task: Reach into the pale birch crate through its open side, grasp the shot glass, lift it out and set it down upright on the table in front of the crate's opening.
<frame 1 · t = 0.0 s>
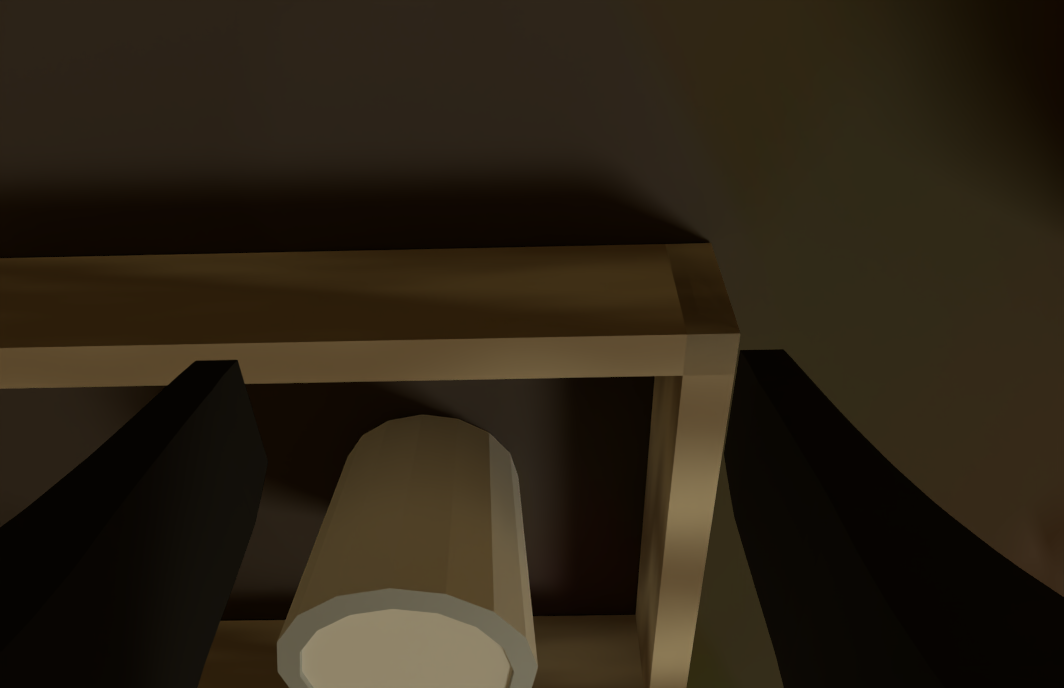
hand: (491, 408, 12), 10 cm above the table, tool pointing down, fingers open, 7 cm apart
shot glass: (432, 474, 28), resting in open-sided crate
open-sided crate: (340, 481, 28), on the table
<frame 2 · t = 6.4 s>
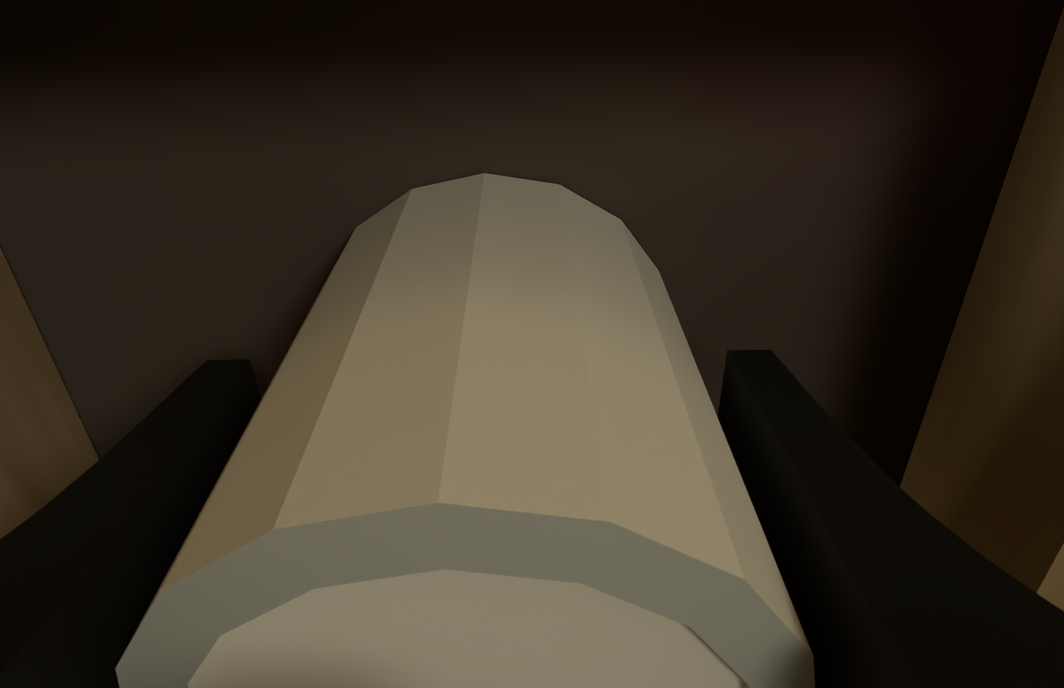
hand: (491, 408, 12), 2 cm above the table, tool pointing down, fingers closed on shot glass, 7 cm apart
shot glass: (496, 323, 14), resting in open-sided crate, touching gripper
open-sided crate: (504, 460, 16), on the table
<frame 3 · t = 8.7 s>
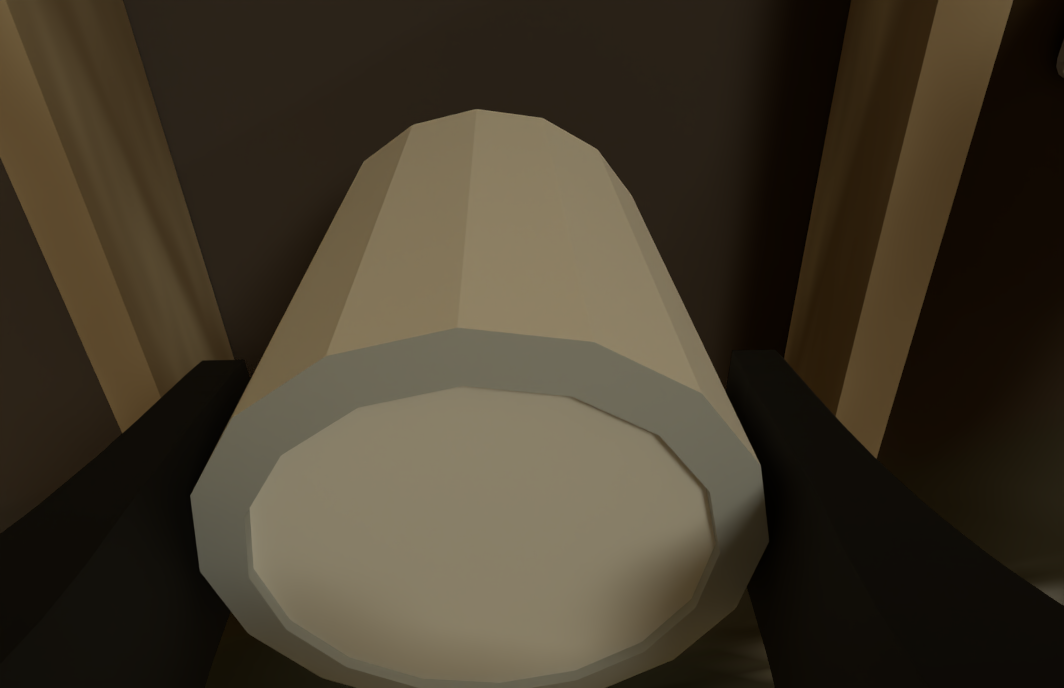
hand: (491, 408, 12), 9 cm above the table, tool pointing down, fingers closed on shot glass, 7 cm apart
shot glass: (489, 249, 16), point 5 cm above the table, touching gripper
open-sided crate: (497, 177, 20), on the table
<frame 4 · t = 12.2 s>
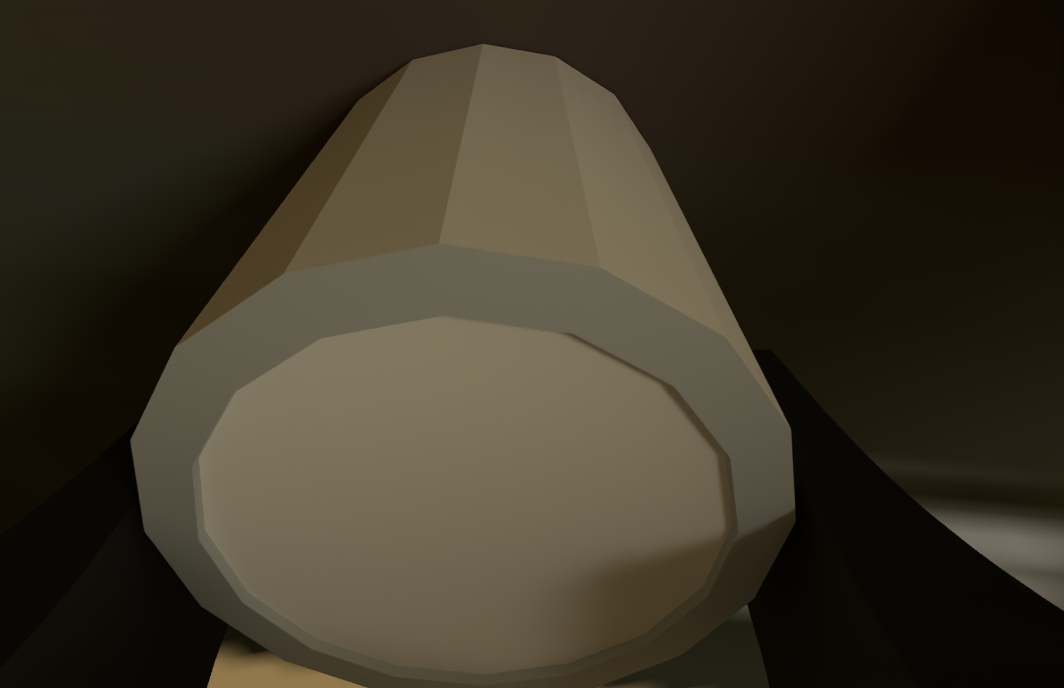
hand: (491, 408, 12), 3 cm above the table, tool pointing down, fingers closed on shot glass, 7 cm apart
shot glass: (493, 205, 15), on the table, touching gripper
when the fingers open (3 cm above the table, at t = 12.3 s): shot glass stays where it is, on the table.
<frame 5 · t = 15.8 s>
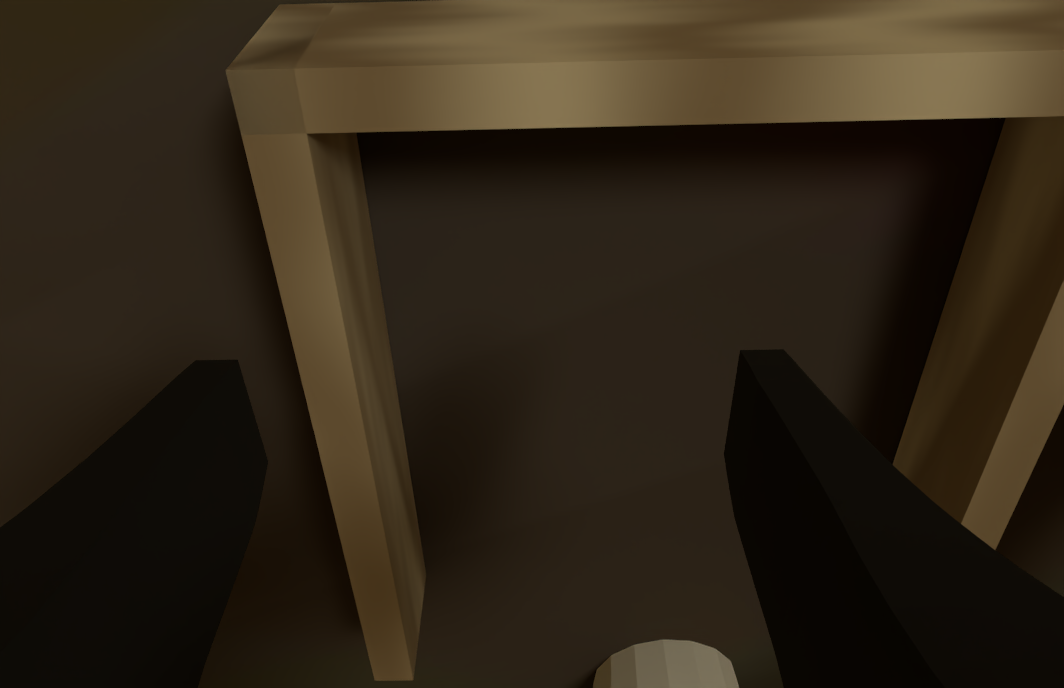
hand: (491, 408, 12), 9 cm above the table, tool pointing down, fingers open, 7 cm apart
shot glass: (663, 676, 34), on the table
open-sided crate: (656, 396, 25), on the table
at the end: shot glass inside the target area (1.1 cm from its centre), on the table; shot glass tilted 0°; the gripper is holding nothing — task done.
